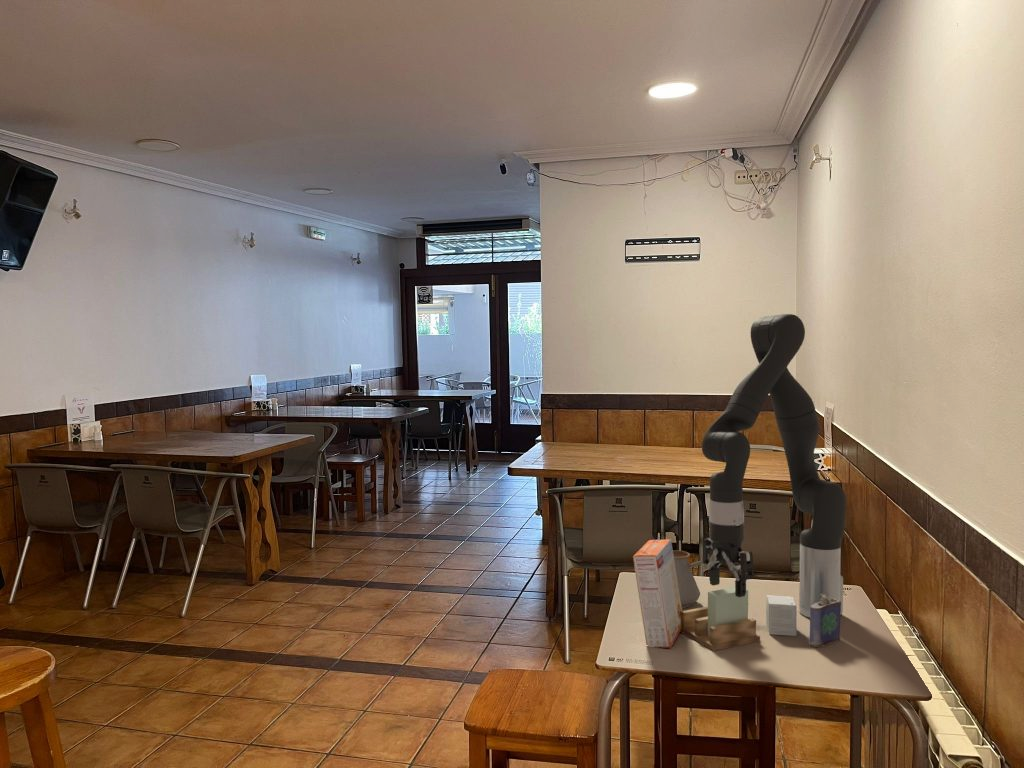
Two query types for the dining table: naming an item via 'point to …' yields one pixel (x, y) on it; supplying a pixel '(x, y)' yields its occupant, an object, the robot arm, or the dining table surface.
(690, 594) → the coffee pot
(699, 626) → the rack
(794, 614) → the product box
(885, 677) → the dining table surface
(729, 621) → the sage green tall prism
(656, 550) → the cracker box
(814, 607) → the flask
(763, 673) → the dining table surface
